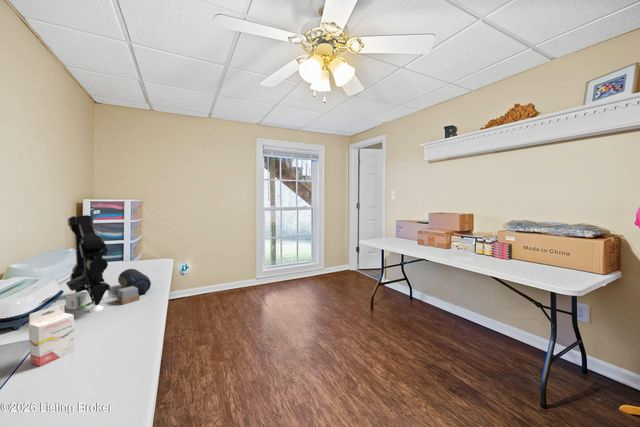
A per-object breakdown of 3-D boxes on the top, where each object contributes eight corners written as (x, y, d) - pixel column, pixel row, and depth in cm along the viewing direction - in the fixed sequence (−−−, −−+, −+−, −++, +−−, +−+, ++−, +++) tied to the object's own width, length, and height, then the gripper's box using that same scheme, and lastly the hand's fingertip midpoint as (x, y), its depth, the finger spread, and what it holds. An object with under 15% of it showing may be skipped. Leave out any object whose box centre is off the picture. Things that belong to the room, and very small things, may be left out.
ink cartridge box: (40, 367, 73) (36, 316, 72) (30, 363, 75) (26, 314, 74) (76, 350, 81) (73, 304, 81) (67, 347, 83) (64, 302, 82)
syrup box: (75, 297, 111) (108, 285, 125) (64, 296, 112) (98, 285, 126) (76, 310, 111) (109, 297, 125) (65, 309, 112) (99, 296, 126)
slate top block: (118, 295, 120) (117, 289, 120) (133, 291, 125) (132, 285, 125) (122, 298, 117) (122, 292, 117) (138, 294, 122) (137, 288, 122)
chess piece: (94, 307, 114) (93, 285, 113) (106, 307, 114) (105, 284, 114) (85, 312, 109) (83, 289, 108) (97, 311, 109) (96, 288, 109)
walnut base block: (117, 302, 120) (117, 296, 120) (134, 297, 126) (133, 291, 125) (122, 305, 116) (122, 299, 116) (139, 300, 122) (139, 294, 122)
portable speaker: (117, 287, 139) (116, 269, 139) (138, 283, 147) (137, 265, 146) (129, 299, 123) (128, 278, 122) (153, 293, 131) (152, 274, 130)
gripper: (62, 269, 110) (65, 305, 111) (72, 276, 99) (75, 316, 99) (96, 263, 119) (98, 296, 119) (109, 270, 107) (111, 306, 108)
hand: (95, 303), depth 111 cm, fingers open, 4 cm apart
